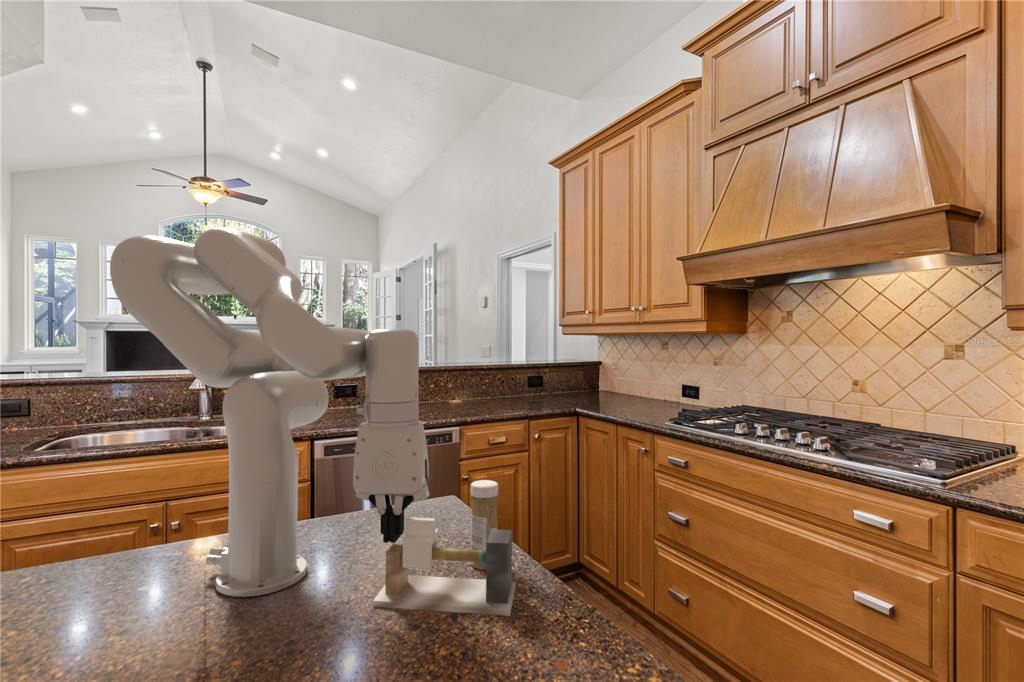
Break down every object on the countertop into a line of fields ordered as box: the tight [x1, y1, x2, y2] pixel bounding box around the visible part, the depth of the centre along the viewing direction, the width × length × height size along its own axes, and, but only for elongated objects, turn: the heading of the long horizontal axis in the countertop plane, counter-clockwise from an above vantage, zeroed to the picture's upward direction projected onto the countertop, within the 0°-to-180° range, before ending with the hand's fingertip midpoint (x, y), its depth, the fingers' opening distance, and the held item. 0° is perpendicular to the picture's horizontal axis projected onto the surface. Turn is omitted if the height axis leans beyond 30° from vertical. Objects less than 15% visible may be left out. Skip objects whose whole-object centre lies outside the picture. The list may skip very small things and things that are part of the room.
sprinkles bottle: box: [470, 479, 499, 570], centre depth 81 cm, size 5×5×14 cm
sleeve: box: [402, 516, 439, 570], centre depth 71 cm, size 4×4×6 cm
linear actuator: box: [372, 528, 517, 617], centre depth 71 cm, size 19×8×9 cm, turn 84°
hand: (392, 539), depth 72 cm, fingers closed
